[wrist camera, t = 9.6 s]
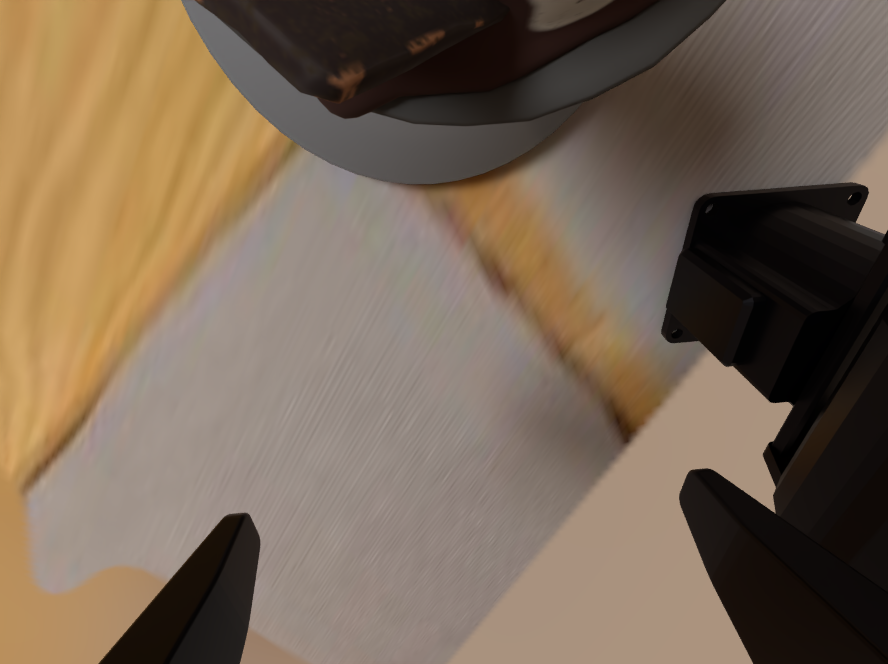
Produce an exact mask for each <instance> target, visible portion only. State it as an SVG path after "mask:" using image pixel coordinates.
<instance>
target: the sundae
mask: <svg viewBox="0 0 888 664" xmlns="http://www.w3.org/2000/svg"><path fill="white" fill-rule="evenodd" d="M195 1H196V2H197V3H198V4H200V5H201V6H203V7H204V8H205V9H207V10H208V11H210V12H211V13H212V14H214V15H215V16H216V17H217V18H218V19H220V20H221V21H222V22H223V23H224V24H225V25H226V26H228V27H229V28H230V29H231V30H232V31H233V32H234V33H235V34H237V35H238V36H239V37H240V38H241V39H242V40H243V41H245V42H246V43H247V44H248V45H249V46H250V47H251V48H252V49H254V50H255V51H256V52H257V53H258V54H259V55H261V56H262V57H263V58H264V59H265V60H266V61H267V63H268V64H270V65H271V66H272V67H273V68H274V69H275V70H276V71H277V72H278V73H279V74H280V75H282V76H283V77H284V78H285V79H286V80H287V81H288V82H289V83H290V84H291V85H293V86H294V87H295V88H296V89H297V90H298V91H299V92H300V93H304V94H307V95H310V96H314V97H317V98H318V100H319V101H320V102H321V103H322V104H323V105H324V106H325V107H326V108H327V109H328V111H329V112H330V113H332V114H334V115H337V116H339V117H341V118H343V119H350V118H358V117H360V116H363V115H365V114H367V113H370V112H372V113H376V114H379V115H383V116H387V117H390V118H394V119H398V120H401V121H405V122H409V123H412V124H424V125H446V126H478V125H490V124H502V123H514V122H526V121H532V120H534V119H537V118H540V117H543V116H546V115H548V114H551V113H554V112H557V111H560V110H562V109H565V108H568V107H571V106H574V105H576V104H579V103H582V102H585V101H588V100H590V99H593V98H595V97H597V96H599V95H601V94H602V93H604V92H606V91H608V90H610V89H612V88H614V87H616V86H618V85H620V84H622V83H623V82H625V81H627V80H629V79H631V78H633V77H635V76H637V75H639V74H641V73H643V72H645V71H646V70H648V69H650V68H652V67H654V66H655V65H656V64H657V63H659V62H660V61H661V60H662V59H663V58H664V57H665V56H667V55H668V54H669V53H670V52H671V51H672V50H673V49H675V48H676V47H677V46H678V45H679V44H680V43H681V42H683V41H684V40H685V39H686V38H687V37H688V36H690V35H691V34H692V33H693V32H694V31H695V30H696V29H698V28H699V27H700V26H701V25H702V24H703V23H704V22H706V21H707V20H708V19H709V18H710V17H711V16H712V15H713V14H714V13H715V12H716V11H717V10H718V8H719V7H720V6H721V5H722V4H723V3H724V2H725V1H726V0H195Z"/></svg>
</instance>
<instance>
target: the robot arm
mask: <svg viewBox="0 0 888 664" xmlns="http://www.w3.org/2000/svg"><path fill="white" fill-rule="evenodd" d="M868 194H869V192H868V188H867V187H866V186H864V185H861V184H857V183H852V182H850V183H838V184H825V185H812V186H799V187H786V188H773V189H760V190H747V191H734V192H721V193H709V194H706V195H703V196H702V197H700V198H699V199H698V200H697V201H696V203H695V205H694V207H693V210H692V214H691V218H690V222H689V226H688V230H687V233H686V237H685V241H684V245H683V249H682V252H681V253H680V255H679V257H678V261H677V265H676V269H675V273H674V277H673V281H672V284H671V288H670V292H669V296H668V300H667V304H666V308H667V310H666V314H665V318H664V322H663V326H662V329H661V334H662V335H663V337H664V338H665V339H666V340H667V341H668V342H670V343H681V342H692V341H700V342H701V343H702V344H703V345H704V346H705V347H706V348H707V349H708V350H709V351H710V352H711V353H712V354H713V355H714V356H715V357H716V358H717V359H718V360H719V361H720V362H721V363H722V364H723V365H724V366H726V367H729V366H734V367H735V368H736V369H737V370H738V371H739V372H740V373H741V374H742V375H743V376H744V377H745V378H746V379H747V380H748V381H749V382H750V383H751V384H752V385H753V386H754V387H755V388H756V389H757V390H758V391H759V392H760V393H761V394H762V395H763V396H765V397H766V399H768V400H769V401H770V402H771V403H780V402H789V403H790V404H791V405H792V406H793V408H792V410H791V412H790V413H789V415H788V417H787V419H786V421H785V423H784V424H783V426H782V427H781V429H780V431H779V433H778V435H777V436H776V438H775V440H774V441H773V442H770V443H769V444H768V446H767V447H766V449H765V451H764V453H763V457H764V460H765V462H766V464H767V467H768V469H769V472H770V474H771V476H772V479H773V481H774V484H775V486H776V490H775V492H774V495H773V498H774V505H775V511H776V514H775V513H774V512H772V511H771V510H770V509H768V508H767V507H765V506H764V505H762V504H761V503H759V502H758V501H757V500H755V499H754V498H752V497H751V496H750V495H748V494H747V493H745V492H744V491H743V490H741V489H740V488H738V487H737V486H735V485H734V484H733V483H731V482H730V481H728V480H727V479H725V478H724V477H723V476H721V475H720V474H718V473H717V472H715V471H714V470H711V469H695V470H691V471H689V473H688V474H687V476H686V479H685V482H684V484H683V486H682V489H681V491H680V495H679V500H680V505H681V508H682V511H683V513H684V515H685V518H686V520H687V523H688V526H689V528H690V531H691V533H692V536H693V538H694V541H695V543H696V546H697V548H698V551H699V553H700V556H701V558H702V561H703V563H704V566H705V568H706V571H707V573H708V575H709V577H710V580H711V582H712V584H713V586H714V588H715V590H716V592H717V594H718V596H719V598H720V600H721V602H722V604H723V606H724V608H725V609H726V611H727V613H728V615H729V617H730V619H731V621H732V623H733V625H734V627H735V629H736V631H737V633H738V635H739V637H740V639H741V641H742V643H743V645H744V647H745V648H746V650H747V652H748V654H749V656H750V658H751V660H752V662H753V664H888V231H887V232H886V234H882V233H880V232H877V231H875V230H872V229H870V228H867V227H865V226H862V225H860V224H857V223H856V221H857V218H858V216H859V214H860V212H861V210H862V208H863V206H864V204H865V202H866V199H867V197H868ZM851 195H852V196H851ZM850 196H851V198H850V199H849V200H848V198H849V197H850ZM710 204H713V207H712V209H711V210H710V211H709V212H707V213H705V211H706V209H707V207H708V206H709V205H710ZM676 329H677V331H676V332H674V333H672V332H673V331H674V330H676ZM259 552H260V537H259V534H258V532H257V529H256V527H255V525H254V523H253V521H252V519H251V517H250V515H249V514H248V513H236V514H229V515H227V516H225V517H224V518H223V519H222V520H221V521H220V522H219V523H218V524H217V526H216V527H215V528H214V529H213V530H212V531H211V533H210V534H209V535H208V536H207V537H206V538H205V540H204V541H203V542H202V543H201V544H200V545H199V547H198V548H197V549H196V550H195V551H194V552H193V554H192V555H191V556H190V557H189V558H188V559H187V561H186V562H185V563H184V564H183V565H182V567H181V568H180V569H179V570H178V571H177V572H176V574H175V575H174V576H173V577H172V578H171V579H170V581H169V582H168V583H167V584H166V585H165V586H164V588H163V589H162V590H161V591H160V592H159V593H158V595H157V596H156V597H155V598H154V599H153V600H152V602H151V603H150V604H149V605H148V606H147V608H146V609H145V610H144V611H143V612H142V613H141V614H140V616H139V617H138V618H137V619H136V620H135V622H134V623H133V624H132V625H131V626H130V627H129V629H128V630H127V631H126V632H125V633H124V634H123V636H122V637H121V638H120V639H119V640H118V642H117V643H116V644H115V645H114V646H113V647H112V648H111V650H110V651H109V652H108V653H107V654H106V655H105V657H104V658H103V659H102V660H101V661H100V663H99V664H240V661H241V657H242V653H243V649H244V645H245V640H246V636H247V631H248V626H249V620H250V614H251V607H252V600H253V593H254V586H255V580H256V573H257V566H258V559H259Z"/></svg>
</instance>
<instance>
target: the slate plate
mask: <svg viewBox="0 0 888 664" xmlns="http://www.w3.org/2000/svg"><path fill="white" fill-rule="evenodd" d="M181 1H182V3H183V5H184V7H185V9H186V11H187V13H188V15H189V18H190V20H191V21H192V23H193V25H194V26H195V28H196V30H197V31H198V33H199V35H200V37H201V38H202V40H203V42H204V43H205V45H206V47H207V48H208V50H209V52H210V53H211V55H212V56H213V58H214V59H215V60H216V62H217V63H218V64H219V66H220V67H221V69H222V70H223V71H224V73H225V74H226V75H227V77H228V78H229V79H230V81H231V82H232V84H233V85H234V86H235V87H236V88H237V89H238V90H239V91H240V93H241V94H242V95H243V96H244V97H245V98H246V99H247V100H248V101H249V103H250V104H251V105H252V106H253V107H254V108H255V109H256V110H257V111H258V112H259V113H260V114H261V115H262V116H263V117H265V118H266V119H267V120H268V121H269V122H270V123H271V124H272V125H274V126H275V127H276V128H277V129H278V130H279V131H280V132H281V133H283V134H284V135H286V136H287V137H288V138H290V139H291V140H293V141H294V142H295V143H297V144H298V145H300V146H301V147H302V148H304V149H305V150H307V151H309V152H311V153H312V154H314V155H316V156H318V157H320V158H321V159H323V160H325V161H327V162H329V163H331V164H333V165H335V166H338V167H340V168H343V169H345V170H348V171H350V172H353V173H355V174H358V175H362V176H366V177H370V178H373V179H377V180H381V181H387V182H395V183H403V184H437V183H444V182H451V181H458V180H462V179H465V178H469V177H473V176H476V175H480V174H483V173H486V172H488V171H490V170H493V169H495V168H497V167H500V166H502V165H504V164H507V163H509V162H510V161H512V160H514V159H516V158H517V157H519V156H521V155H522V154H524V153H526V152H527V151H529V150H531V149H532V148H534V147H535V146H536V145H537V144H539V143H540V142H541V141H543V140H544V139H545V138H547V137H548V136H549V135H551V134H552V133H553V132H554V131H555V130H556V129H557V128H558V127H560V126H561V125H562V124H563V123H564V122H565V121H566V120H567V119H568V118H569V117H570V116H571V115H572V114H573V113H574V112H575V111H576V110H577V109H578V107H579V106H580V105H581V104H582V103H583V102H582V103H579V104H576V105H574V106H571V107H568V108H565V109H562V110H560V111H557V112H554V113H551V114H548V115H546V116H543V117H540V118H537V119H534V120H532V121H526V122H514V123H502V124H490V125H478V126H446V125H424V124H412V123H409V122H405V121H401V120H398V119H394V118H390V117H387V116H383V115H379V114H376V113H372V112H370V113H367V114H365V115H363V116H360V117H358V118H350V119H343V118H341V117H339V116H337V115H334V114H332V113H330V112H329V111H328V109H327V108H326V107H325V106H324V105H323V104H322V103H321V102H320V101H319V100H318V98H317V97H314V96H310V95H307V94H304V93H300V92H299V91H298V90H297V89H296V88H295V87H294V86H293V85H291V84H290V83H289V82H288V81H287V80H286V79H285V78H284V77H283V76H282V75H280V74H279V73H278V72H277V71H276V70H275V69H274V68H273V67H272V66H271V65H270V64H268V63H267V61H266V60H265V59H264V58H263V57H262V56H261V55H259V54H258V53H257V52H256V51H255V50H254V49H252V48H251V47H250V46H249V45H248V44H247V43H246V42H245V41H243V40H242V39H241V38H240V37H239V36H238V35H237V34H235V33H234V32H233V31H232V30H231V29H230V28H229V27H228V26H226V25H225V24H224V23H223V22H222V21H221V20H220V19H218V18H217V17H216V16H215V15H214V14H212V13H211V12H210V11H208V10H207V9H205V8H204V7H203V6H201V5H200V4H198V3H197V2H196V1H195V0H181Z"/></svg>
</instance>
